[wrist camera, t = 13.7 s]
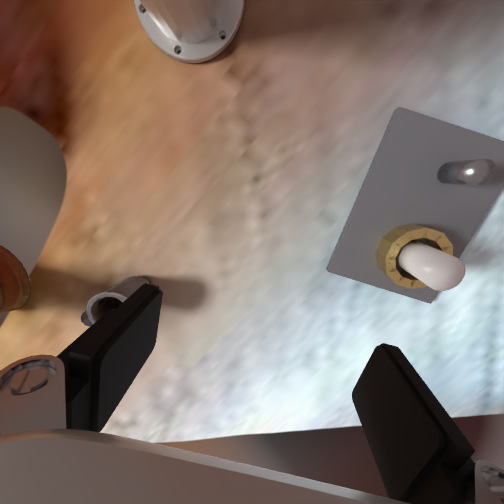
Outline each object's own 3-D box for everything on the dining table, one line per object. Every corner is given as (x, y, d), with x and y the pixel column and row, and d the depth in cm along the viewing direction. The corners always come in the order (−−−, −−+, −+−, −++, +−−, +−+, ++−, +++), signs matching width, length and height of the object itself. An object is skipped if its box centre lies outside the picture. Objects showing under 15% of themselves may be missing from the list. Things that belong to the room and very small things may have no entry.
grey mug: (90, 298, 41) (48, 325, 33) (146, 261, 38) (115, 282, 30) (113, 325, 42) (78, 357, 34) (169, 291, 39) (145, 318, 31)
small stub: (444, 159, 29) (478, 155, 25) (463, 165, 30) (501, 163, 25) (433, 180, 30) (464, 180, 25) (452, 186, 30) (486, 187, 26)
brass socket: (392, 216, 32) (404, 220, 29) (448, 234, 32) (465, 240, 29) (366, 269, 34) (375, 277, 31) (418, 286, 34) (432, 295, 32)
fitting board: (394, 109, 29) (399, 107, 28) (515, 149, 30) (525, 148, 28) (326, 268, 36) (328, 271, 35) (425, 299, 36) (430, 303, 35)
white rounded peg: (397, 234, 33) (435, 252, 25) (425, 242, 33) (472, 261, 25) (385, 261, 34) (418, 285, 26) (412, 268, 34) (453, 294, 26)
